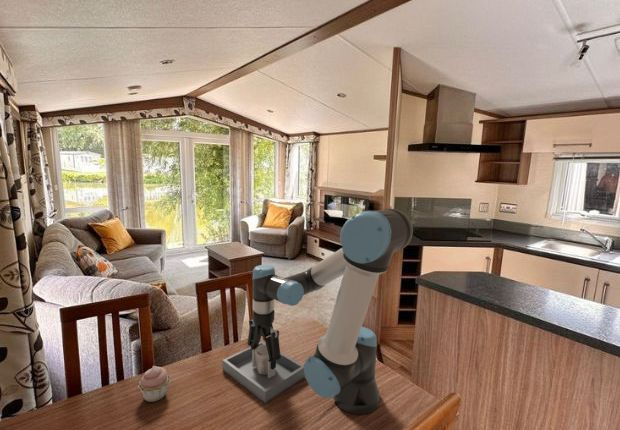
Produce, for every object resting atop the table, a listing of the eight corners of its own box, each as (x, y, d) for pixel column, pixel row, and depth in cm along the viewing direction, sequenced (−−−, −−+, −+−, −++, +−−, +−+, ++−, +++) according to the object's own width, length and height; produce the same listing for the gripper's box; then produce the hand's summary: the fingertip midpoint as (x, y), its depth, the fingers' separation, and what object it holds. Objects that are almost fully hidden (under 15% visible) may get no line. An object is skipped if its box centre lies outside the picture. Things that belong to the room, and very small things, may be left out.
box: (305, 377, 110) (305, 366, 110) (265, 403, 97) (265, 391, 97) (261, 350, 126) (261, 341, 126) (222, 370, 113) (222, 359, 113)
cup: (270, 384, 105) (270, 362, 104) (248, 381, 107) (248, 359, 106) (280, 365, 116) (280, 345, 115) (259, 362, 117) (259, 342, 116)
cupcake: (157, 382, 106) (156, 354, 105) (177, 391, 102) (176, 362, 101) (131, 399, 98) (130, 369, 96) (151, 410, 94) (150, 379, 92)
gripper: (292, 315, 105) (291, 379, 107) (253, 298, 119) (253, 354, 121) (275, 323, 99) (274, 389, 102) (237, 304, 113) (237, 363, 116)
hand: (263, 370), depth 112 cm, fingers closed on cup, 8 cm apart
